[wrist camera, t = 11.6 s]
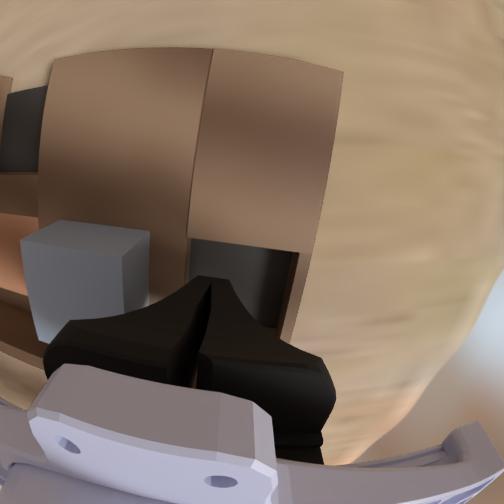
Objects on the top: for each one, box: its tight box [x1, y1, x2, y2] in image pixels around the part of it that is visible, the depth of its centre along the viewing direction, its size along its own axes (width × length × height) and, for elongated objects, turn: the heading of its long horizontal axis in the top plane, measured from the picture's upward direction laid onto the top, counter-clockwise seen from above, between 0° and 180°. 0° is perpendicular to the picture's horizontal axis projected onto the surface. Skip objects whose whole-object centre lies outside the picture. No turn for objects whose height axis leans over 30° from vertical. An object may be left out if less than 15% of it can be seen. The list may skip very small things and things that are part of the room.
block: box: [20, 220, 150, 344], centre depth 10 cm, size 4×4×3 cm
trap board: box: [0, 48, 344, 389], centre depth 10 cm, size 14×21×4 cm, turn 81°
